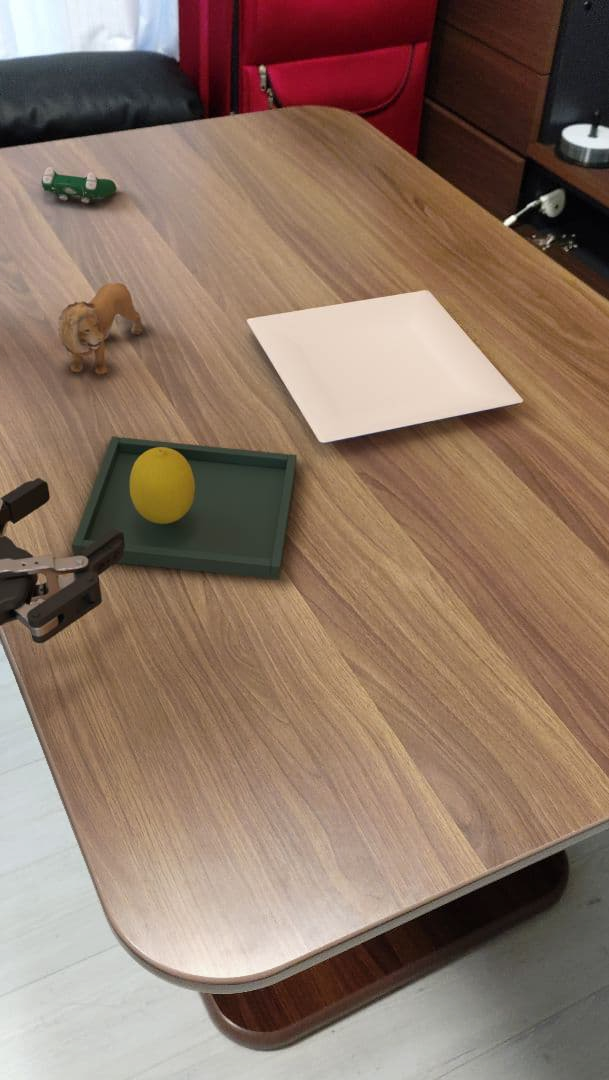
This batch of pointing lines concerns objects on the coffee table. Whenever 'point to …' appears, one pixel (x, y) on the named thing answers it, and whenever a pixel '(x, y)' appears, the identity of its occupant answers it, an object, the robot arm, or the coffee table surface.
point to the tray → (198, 511)
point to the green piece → (77, 186)
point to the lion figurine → (95, 324)
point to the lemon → (162, 485)
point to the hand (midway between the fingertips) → (82, 512)
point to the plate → (380, 365)
